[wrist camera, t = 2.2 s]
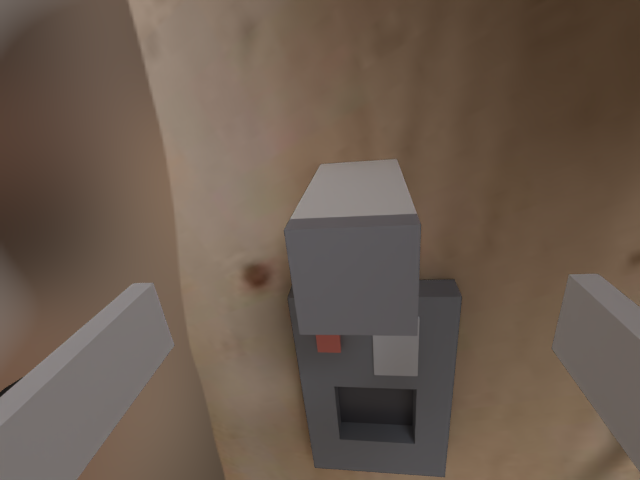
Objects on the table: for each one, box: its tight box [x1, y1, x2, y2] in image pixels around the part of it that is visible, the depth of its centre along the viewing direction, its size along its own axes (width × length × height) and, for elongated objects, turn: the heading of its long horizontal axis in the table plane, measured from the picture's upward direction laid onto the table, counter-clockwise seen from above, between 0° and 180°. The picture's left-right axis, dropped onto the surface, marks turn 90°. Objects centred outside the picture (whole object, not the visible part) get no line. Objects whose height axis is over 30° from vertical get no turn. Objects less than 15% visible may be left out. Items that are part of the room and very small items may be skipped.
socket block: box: [288, 279, 462, 477], centre depth 26 cm, size 18×11×2 cm, turn 5°
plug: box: [284, 159, 421, 336], centre depth 17 cm, size 4×4×10 cm
